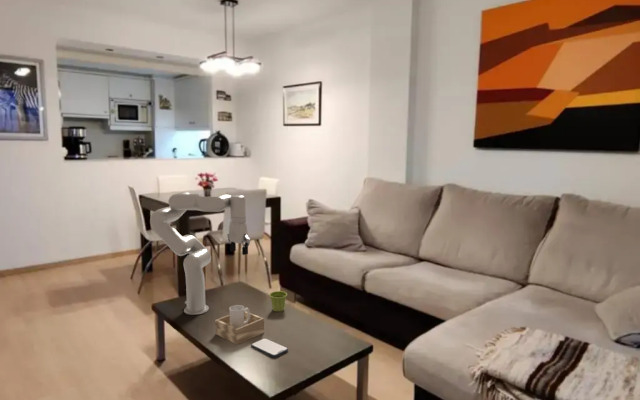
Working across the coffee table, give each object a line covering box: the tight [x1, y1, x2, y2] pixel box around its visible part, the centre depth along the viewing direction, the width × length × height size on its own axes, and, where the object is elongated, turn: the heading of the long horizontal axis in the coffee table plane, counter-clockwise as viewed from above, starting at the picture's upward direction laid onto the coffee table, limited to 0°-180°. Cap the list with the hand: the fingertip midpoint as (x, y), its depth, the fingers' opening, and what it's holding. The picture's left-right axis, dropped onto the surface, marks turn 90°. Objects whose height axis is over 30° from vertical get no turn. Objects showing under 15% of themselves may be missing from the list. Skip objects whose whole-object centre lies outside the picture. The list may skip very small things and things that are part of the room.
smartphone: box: [250, 337, 289, 359], centre depth 184 cm, size 9×2×16 cm
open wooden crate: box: [214, 312, 265, 345], centre depth 198 cm, size 16×16×7 cm
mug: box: [228, 304, 251, 328], centre depth 198 cm, size 10×7×12 cm, turn 123°
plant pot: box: [269, 290, 288, 312], centre depth 226 cm, size 9×9×9 cm
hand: (239, 252), depth 216 cm, fingers open, 9 cm apart
